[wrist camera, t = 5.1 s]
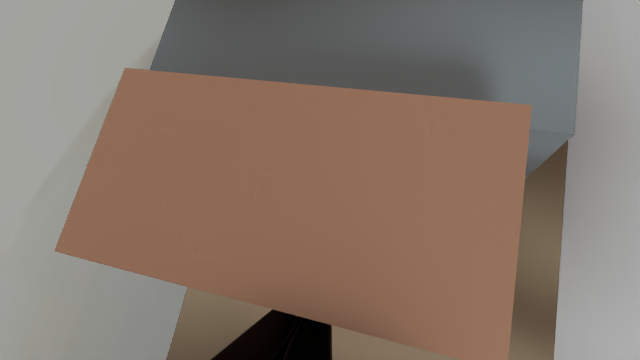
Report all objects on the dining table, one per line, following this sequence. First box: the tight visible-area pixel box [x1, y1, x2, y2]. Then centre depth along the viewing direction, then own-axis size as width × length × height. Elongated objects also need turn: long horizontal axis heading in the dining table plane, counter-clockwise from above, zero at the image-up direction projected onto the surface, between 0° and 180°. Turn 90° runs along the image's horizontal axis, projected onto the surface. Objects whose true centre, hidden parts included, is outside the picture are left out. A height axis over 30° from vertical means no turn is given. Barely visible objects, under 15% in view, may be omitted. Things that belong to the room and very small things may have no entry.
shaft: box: [55, 68, 532, 360], centre depth 11 cm, size 17×6×10 cm, turn 167°
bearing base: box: [150, 0, 583, 360], centre depth 11 cm, size 21×14×10 cm, turn 167°
